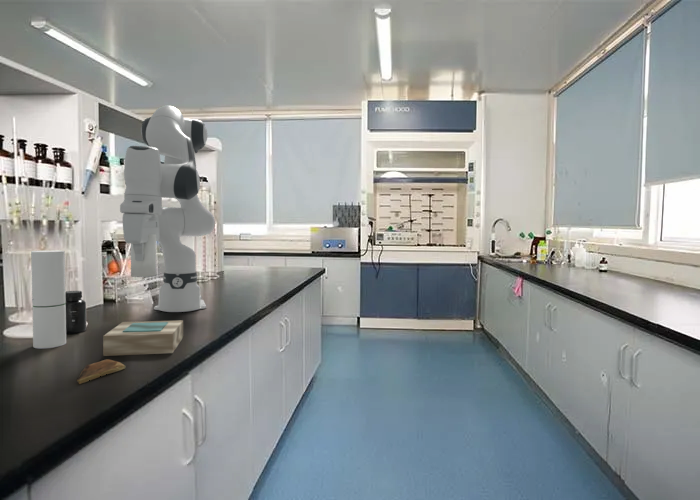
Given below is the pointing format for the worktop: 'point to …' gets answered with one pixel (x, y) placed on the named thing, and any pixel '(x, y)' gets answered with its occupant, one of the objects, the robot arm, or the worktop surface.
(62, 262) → the cylindrical container
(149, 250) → the white bottle
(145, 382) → the worktop surface
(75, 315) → the supplement bottle
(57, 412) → the worktop surface
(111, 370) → the shard
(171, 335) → the birch plinth
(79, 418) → the worktop surface
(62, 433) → the worktop surface
